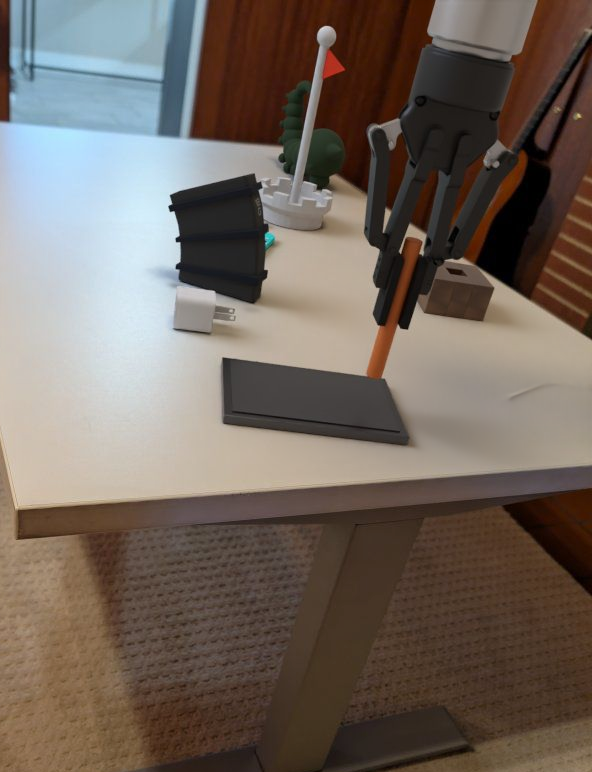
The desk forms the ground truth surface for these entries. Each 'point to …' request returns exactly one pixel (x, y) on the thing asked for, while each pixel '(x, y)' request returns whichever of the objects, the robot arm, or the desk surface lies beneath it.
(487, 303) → the pen stand
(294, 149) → the toy figurine
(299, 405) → the tablet
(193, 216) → the magazine
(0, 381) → the desk surface
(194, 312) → the usb wall charger
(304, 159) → the flag stand
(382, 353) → the orange rod
